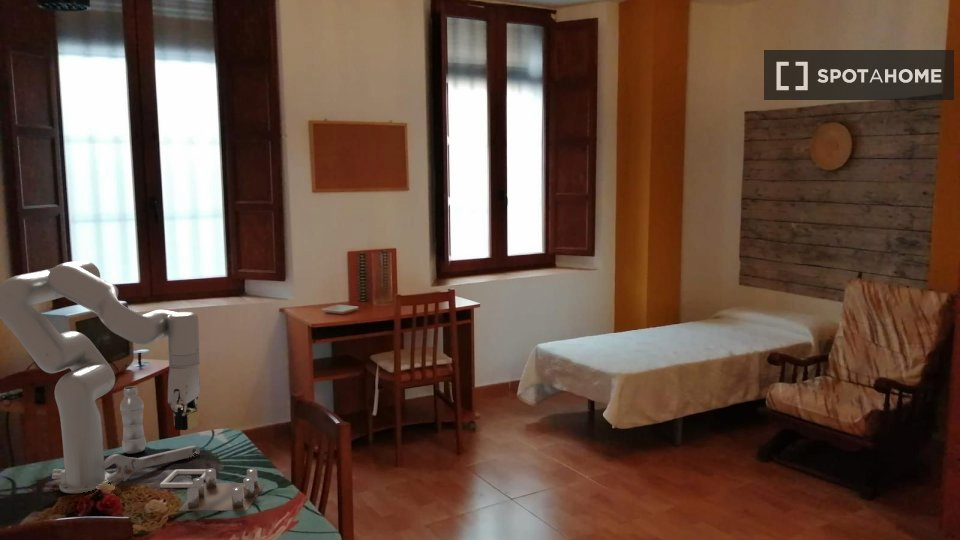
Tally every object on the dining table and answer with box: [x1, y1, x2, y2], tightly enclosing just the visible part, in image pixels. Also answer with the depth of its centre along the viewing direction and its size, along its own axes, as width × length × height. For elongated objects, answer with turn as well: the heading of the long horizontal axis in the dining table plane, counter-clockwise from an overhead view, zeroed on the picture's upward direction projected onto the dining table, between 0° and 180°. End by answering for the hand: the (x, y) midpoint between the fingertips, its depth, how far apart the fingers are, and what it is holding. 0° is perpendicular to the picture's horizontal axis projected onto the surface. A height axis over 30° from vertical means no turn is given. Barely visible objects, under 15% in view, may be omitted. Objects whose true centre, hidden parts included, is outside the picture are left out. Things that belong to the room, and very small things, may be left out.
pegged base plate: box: [186, 467, 259, 509], centre depth 194 cm, size 16×15×4 cm
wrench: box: [102, 445, 201, 482], centre depth 214 cm, size 8×2×30 cm
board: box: [177, 482, 267, 512], centre depth 194 cm, size 17×17×1 cm
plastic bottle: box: [119, 385, 147, 455], centre depth 227 cm, size 6×7×20 cm
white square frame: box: [159, 468, 208, 489], centre depth 204 cm, size 10×10×2 cm
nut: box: [173, 407, 199, 430], centre depth 201 cm, size 6×6×4 cm
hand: (186, 425), depth 201 cm, fingers closed on nut, 5 cm apart
